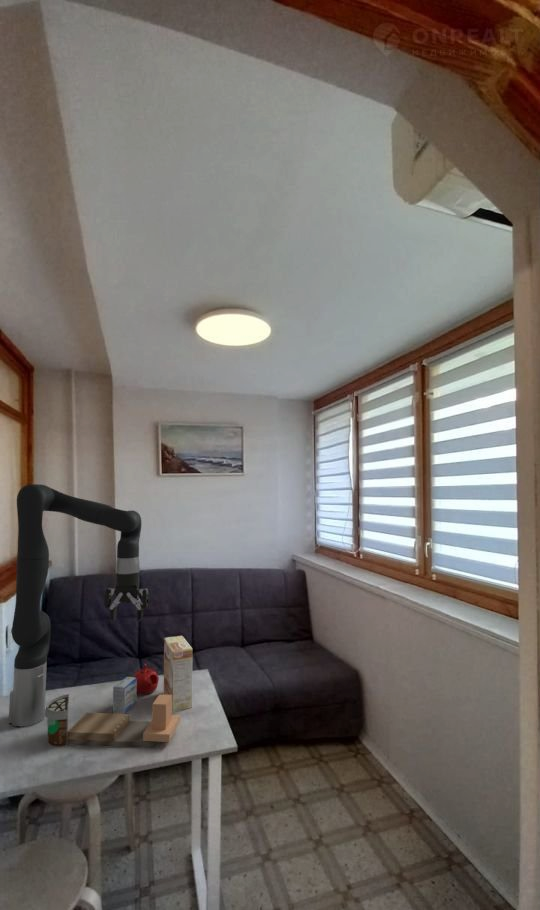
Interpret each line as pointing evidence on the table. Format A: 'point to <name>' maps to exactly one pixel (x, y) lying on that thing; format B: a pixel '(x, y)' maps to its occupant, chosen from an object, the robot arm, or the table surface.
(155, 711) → the stub
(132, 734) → the board
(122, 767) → the table surface
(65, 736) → the food container
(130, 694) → the medicine box
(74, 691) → the table surface
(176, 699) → the coffeecake box
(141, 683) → the pomegranate
